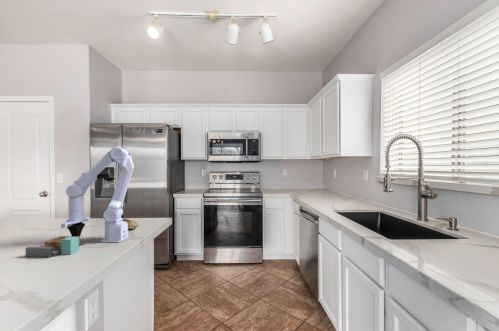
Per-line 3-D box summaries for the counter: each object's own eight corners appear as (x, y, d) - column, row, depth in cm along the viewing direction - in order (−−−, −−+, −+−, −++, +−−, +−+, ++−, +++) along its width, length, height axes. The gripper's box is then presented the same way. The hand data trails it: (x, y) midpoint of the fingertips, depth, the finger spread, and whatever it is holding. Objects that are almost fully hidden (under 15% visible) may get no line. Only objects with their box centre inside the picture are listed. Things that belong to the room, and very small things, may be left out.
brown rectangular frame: (79, 244, 109) (79, 236, 109) (64, 250, 101) (64, 242, 101) (60, 243, 110) (60, 236, 110) (44, 250, 102) (44, 241, 102)
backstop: (84, 244, 110) (84, 236, 110) (52, 257, 93) (52, 248, 93) (59, 243, 111) (59, 235, 111) (23, 256, 94) (23, 247, 94)
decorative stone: (136, 216, 147) (140, 224, 135) (136, 223, 148) (140, 231, 135) (118, 217, 142) (121, 226, 130) (118, 225, 143) (120, 234, 130)
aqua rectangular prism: (78, 251, 101) (78, 236, 101) (70, 255, 97) (70, 239, 97) (69, 251, 101) (69, 236, 101) (61, 254, 97) (61, 239, 97)
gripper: (80, 207, 120) (80, 235, 120) (54, 213, 106) (54, 244, 106) (93, 207, 120) (93, 235, 120) (69, 213, 105) (69, 245, 105)
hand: (76, 239), depth 113 cm, fingers closed
